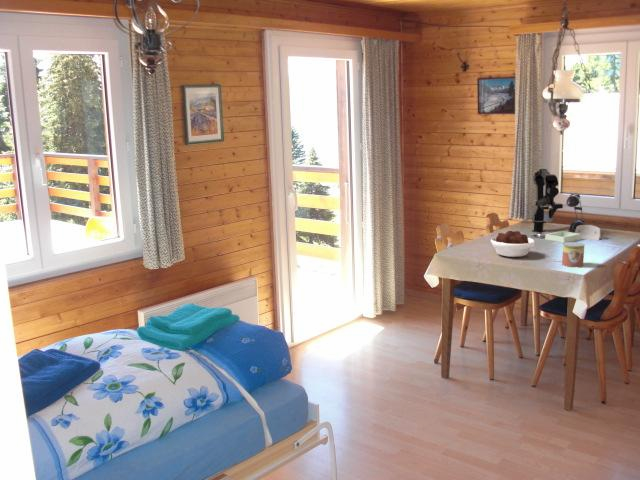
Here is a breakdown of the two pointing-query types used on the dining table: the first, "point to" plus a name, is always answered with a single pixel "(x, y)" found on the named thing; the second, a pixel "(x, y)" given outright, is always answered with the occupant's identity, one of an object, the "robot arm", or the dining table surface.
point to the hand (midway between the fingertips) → (548, 217)
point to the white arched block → (589, 232)
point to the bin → (563, 237)
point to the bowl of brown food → (512, 244)
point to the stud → (539, 235)
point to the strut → (547, 216)
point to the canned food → (573, 254)
